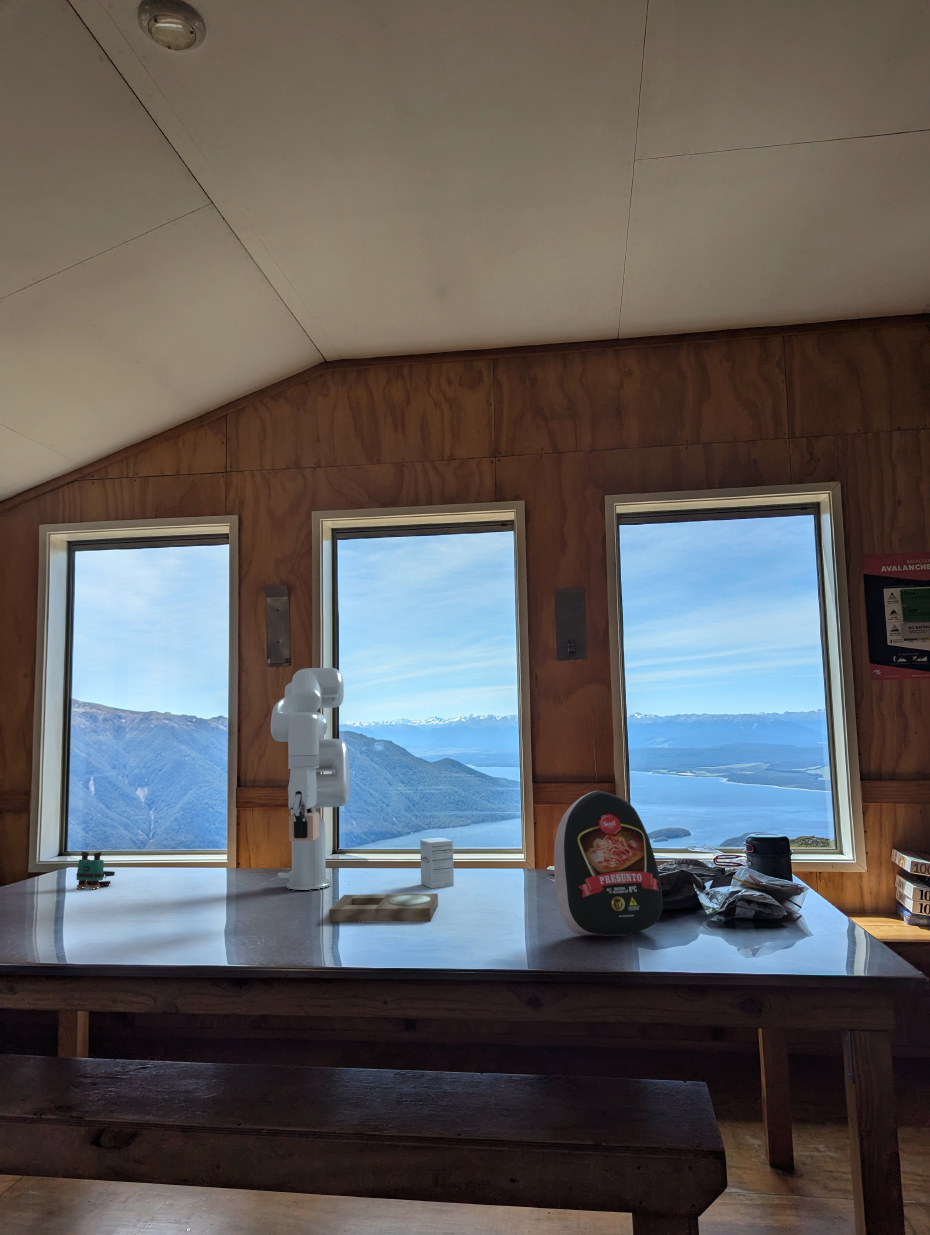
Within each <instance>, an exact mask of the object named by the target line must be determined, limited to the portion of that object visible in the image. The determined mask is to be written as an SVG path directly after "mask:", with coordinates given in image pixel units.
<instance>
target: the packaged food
mask: <svg viewBox="0 0 930 1235" xmlns="http://www.w3.org/2000/svg"><path fill="white" fill-rule="evenodd" d="M553 862H554V863H553V865H554V866H553V868H554V884H555V892H556V898H557V900H556V901H557V906H558V910H559V915H560V918H561V919H562V922H563V923H564V925H565V927H567V928H568V929H569V930H570V931H571V932H572V933H574V934H576V935H581V936H606V937H609V936H610V937H611V936H623V937H624V936H629V935H632V934H635V933H638V932H641V931H644V930H646V929H649V928H650V927H652V926H654V925H655V924H656V923H657V922H658V920H659V919H660V918H661V915H662V913H663V912H662V911H663V891H662V890H663V889H662V884H661V878H660V877H661V876H660V873H659V869H658V864H657V859H656V857H655V854H654V851H653V847H652V844H651V841H650V839H649V835H648V832H647V830H646V828H645V826H644V824H643V821H642V820H641V818H640V815H639V814H638V812H637V810H636V809H635V808H634V806H632V804H630V802H628V801H627V800H625V799H623V797H620V796H617V795H615V794H613V793H609V792H605V791H601V790H594V791H591V792H589V793H586V794H584V795H583V796H580V797H579V798H578V799H577V800H575V801H574V802H573V804H571V805H570V806H569V807H568V809H567V810H566V811H565V813H564V814H563V815H562V817H561V820H560V822H559V824H558V827H557V829H556V835H555V839H554V848H553Z"/></svg>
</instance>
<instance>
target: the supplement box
mask: <svg viewBox="0 0 930 1235" xmlns="http://www.w3.org/2000/svg"><path fill="white" fill-rule="evenodd" d="M419 842H420V845H419V846H420V848H419V849H420V884H421V885H424V886H425V887H429V888H430V889H439V887H440V888H447V886H448V887H453V886H455V881H454V880H455V878H454V877H455V876H454V847H453V846H454V842H453V840H451V839H449V838H448V839H447V838H445V837H443V836H442V837H432V838H422V839H421V838H420V840H419Z"/></svg>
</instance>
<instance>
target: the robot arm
mask: <svg viewBox="0 0 930 1235" xmlns="http://www.w3.org/2000/svg"><path fill="white" fill-rule="evenodd" d="M343 678H344V677H343V674H342V673H341V672H340V670H339V669H337V668H335V667H311V668H310V667H308V668H301V669H299V670H297V671H296V672H295V673H294V675H293V676H292V680H291V682H288V684H286V685H285V687H284V697H283V698H281V699H280V700H278V701H277V702H276V703H275V705H274V706H273V708H272V712H271V719H270V734H271V736H272V738H273V739H274V740H275V741H276V742H280V743H282V742H283V743H284V742H288V745H287V746H288V747H287V748H288V749H287V751H288V752H287V753H288V756H287V757H288V770H290V772H289V773H290V774H289V781H288V782H289V783H288V786H287V794H288V795H287V796H288V804H287V805H288V809H289V810H290V815H292V814H294V838H307V821H306V813H318V811H317V810H316V809H321V808H322V809H323V808H338V807H343V806H345V805H347V804H348V802H349V800H350V793H351V792H350V767H349V766H350V764H349V761H350V760H349V749H348V746H347V743H346V742H345V741H344V740H342V739H340V738H324V736H325V734H327V731H328V722H327V719H326V718H325V716H324V715H323V713H321V712H318V710H319V709H331V708H338V707H340V706H341V705H342V704H343V701H344V696H345V691H344V690H345V689H344V687H345V686H344V679H343ZM319 772H321V773H322V772H330V773H324V774H321V773H319ZM331 772H332V773H331ZM302 813H303V814H302ZM326 863H327V862H326V824H325V820H324V819H323V817H322V816H321V815H320V814H319V837H318V838H317V839H315V840H313V841H291V870H290V871H288V872H278V873H277V880H278V881H288V882H287V883H286V886H287V887H288V888H290V889H299V890H300V889H301V890H308V889H318V890H321V889H320V888H323V889H326V888H325V887H327V888H329V887H330V886H332V880H330V879H327V877H326V875H327V872H326V867H327V866H326ZM286 886H285V887H286ZM328 886H329V887H328Z"/></svg>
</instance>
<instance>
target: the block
mask: <svg viewBox="0 0 930 1235" xmlns="http://www.w3.org/2000/svg"><path fill="white" fill-rule="evenodd" d="M302 814H303V813H302ZM319 815H320V812H317V813H306V821H307V838H294V814H292V815H291V814H290V815H289V816H288V841H289V842H292V841H313V840H315V839H317V838H318V837H319Z"/></svg>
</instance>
